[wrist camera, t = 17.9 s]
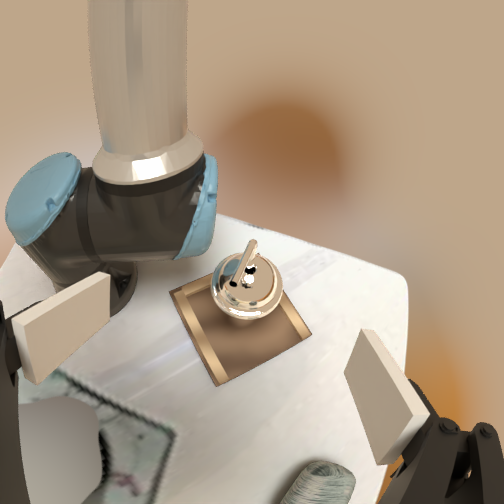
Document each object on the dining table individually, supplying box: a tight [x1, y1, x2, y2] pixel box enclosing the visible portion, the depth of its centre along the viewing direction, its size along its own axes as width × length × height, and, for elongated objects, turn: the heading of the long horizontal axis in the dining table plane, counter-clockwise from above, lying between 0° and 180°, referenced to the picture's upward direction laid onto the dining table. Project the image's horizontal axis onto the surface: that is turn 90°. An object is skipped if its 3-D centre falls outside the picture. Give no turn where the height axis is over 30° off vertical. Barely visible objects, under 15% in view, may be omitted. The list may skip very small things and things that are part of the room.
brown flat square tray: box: [169, 253, 312, 387], centre depth 42 cm, size 16×16×2 cm
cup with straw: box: [211, 239, 283, 328], centre depth 33 cm, size 8×9×20 cm
